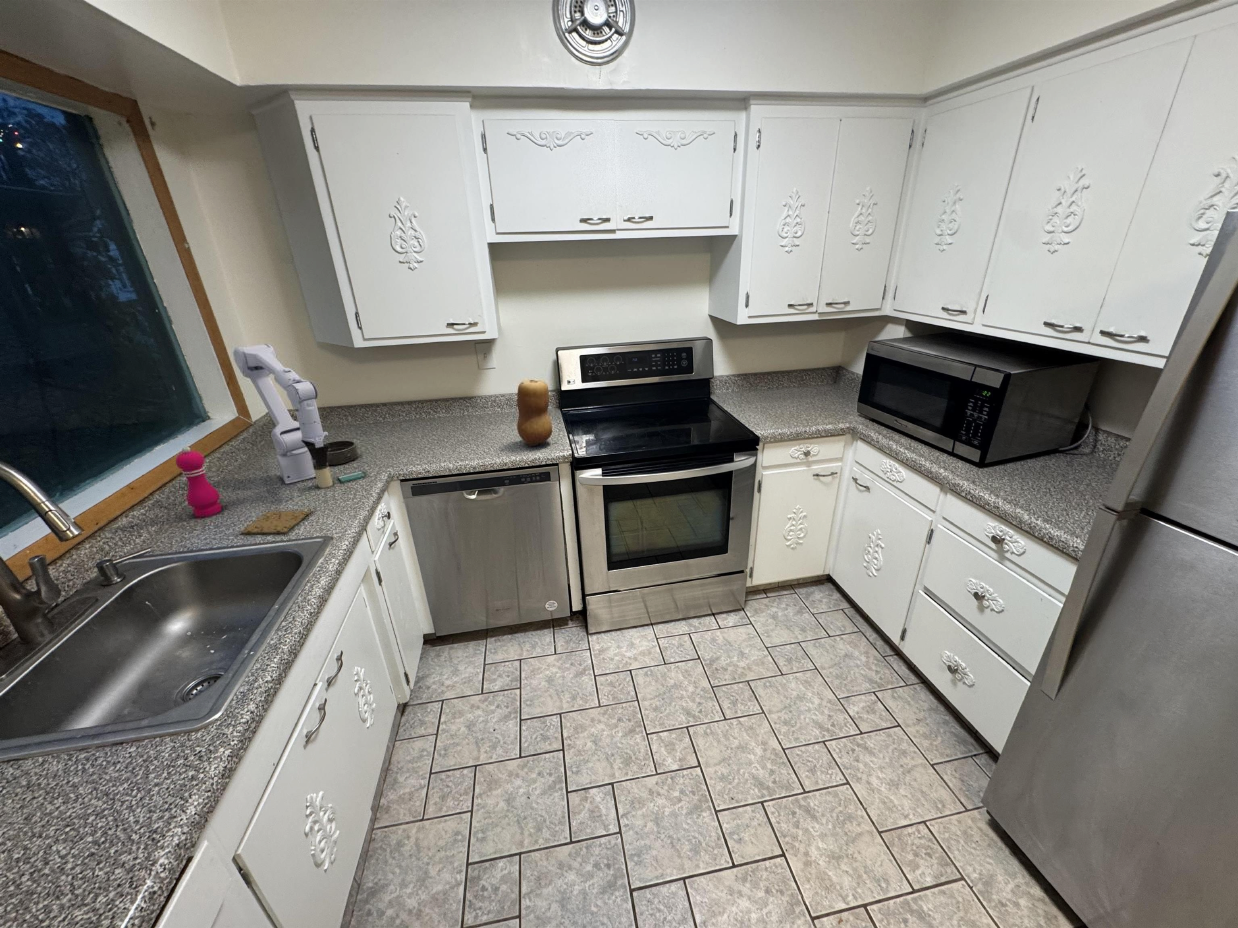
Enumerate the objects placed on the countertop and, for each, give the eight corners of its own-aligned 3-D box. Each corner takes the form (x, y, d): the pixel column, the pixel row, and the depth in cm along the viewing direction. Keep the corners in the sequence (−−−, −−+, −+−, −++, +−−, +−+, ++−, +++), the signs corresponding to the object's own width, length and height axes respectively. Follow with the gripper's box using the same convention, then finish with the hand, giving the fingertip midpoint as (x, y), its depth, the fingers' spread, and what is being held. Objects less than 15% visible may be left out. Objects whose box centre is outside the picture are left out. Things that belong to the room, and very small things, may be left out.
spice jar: (319, 489, 159) (314, 468, 156) (316, 484, 161) (311, 464, 159) (334, 485, 161) (329, 464, 158) (331, 481, 164) (326, 461, 161)
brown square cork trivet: (312, 512, 144) (311, 509, 143) (286, 533, 133) (285, 530, 132) (270, 512, 144) (269, 509, 143) (240, 533, 133) (239, 530, 132)
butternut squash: (556, 447, 192) (553, 382, 182) (521, 452, 187) (516, 386, 178) (547, 436, 204) (543, 375, 194) (514, 440, 199) (509, 378, 190)
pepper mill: (219, 504, 149) (197, 440, 142) (227, 511, 145) (205, 446, 138) (189, 513, 144) (165, 447, 137) (196, 520, 140) (171, 453, 132)
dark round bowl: (322, 469, 174) (319, 455, 172) (314, 458, 183) (310, 445, 181) (363, 459, 181) (360, 446, 180) (353, 450, 191) (350, 437, 189)
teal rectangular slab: (342, 482, 163) (341, 481, 163) (338, 478, 166) (337, 476, 166) (365, 477, 167) (364, 475, 167) (360, 472, 171) (360, 470, 170)
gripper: (329, 424, 150) (339, 466, 156) (318, 414, 161) (328, 453, 166) (303, 429, 146) (314, 472, 151) (293, 418, 156) (304, 458, 162)
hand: (320, 462), depth 158 cm, fingers open, 7 cm apart
